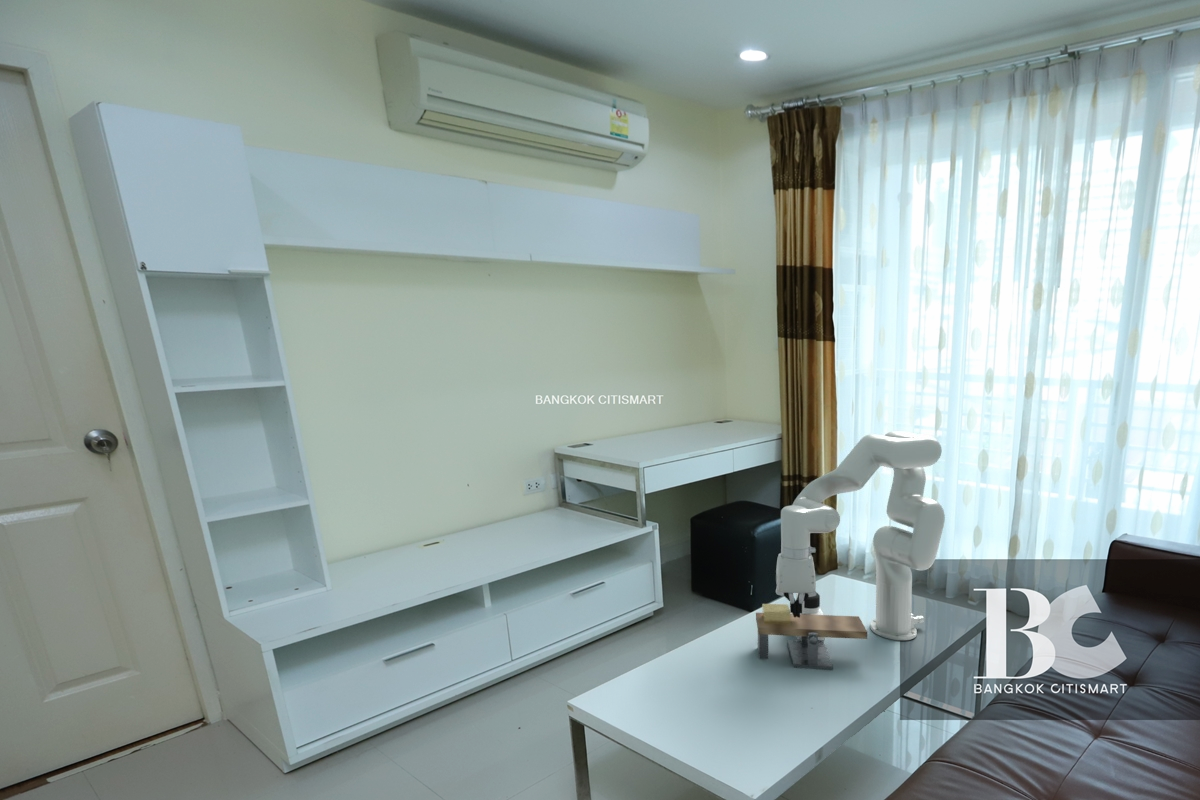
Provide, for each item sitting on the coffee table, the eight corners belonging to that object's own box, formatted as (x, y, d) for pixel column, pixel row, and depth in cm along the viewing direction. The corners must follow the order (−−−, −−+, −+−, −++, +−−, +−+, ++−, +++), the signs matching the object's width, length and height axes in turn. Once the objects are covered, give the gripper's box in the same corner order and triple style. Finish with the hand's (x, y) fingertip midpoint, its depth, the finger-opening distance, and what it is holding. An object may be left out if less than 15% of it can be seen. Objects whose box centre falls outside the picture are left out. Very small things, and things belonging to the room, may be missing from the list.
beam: (858, 623, 167) (858, 616, 166) (867, 639, 158) (867, 631, 158) (756, 619, 172) (755, 612, 172) (758, 634, 163) (758, 627, 163)
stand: (823, 644, 171) (823, 613, 170) (833, 671, 158) (833, 636, 157) (756, 641, 175) (756, 609, 174) (760, 666, 161) (760, 632, 160)
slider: (788, 616, 168) (788, 604, 168) (790, 624, 163) (790, 612, 163) (762, 615, 170) (762, 603, 169) (764, 623, 165) (764, 611, 164)
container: (817, 628, 181) (818, 587, 180) (824, 641, 174) (825, 598, 172) (791, 627, 182) (791, 586, 181) (797, 640, 174) (797, 597, 173)
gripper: (821, 547, 166) (821, 610, 168) (766, 546, 168) (767, 608, 170) (826, 556, 158) (827, 622, 160) (768, 555, 161) (769, 620, 163)
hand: (796, 615), depth 165 cm, fingers closed
